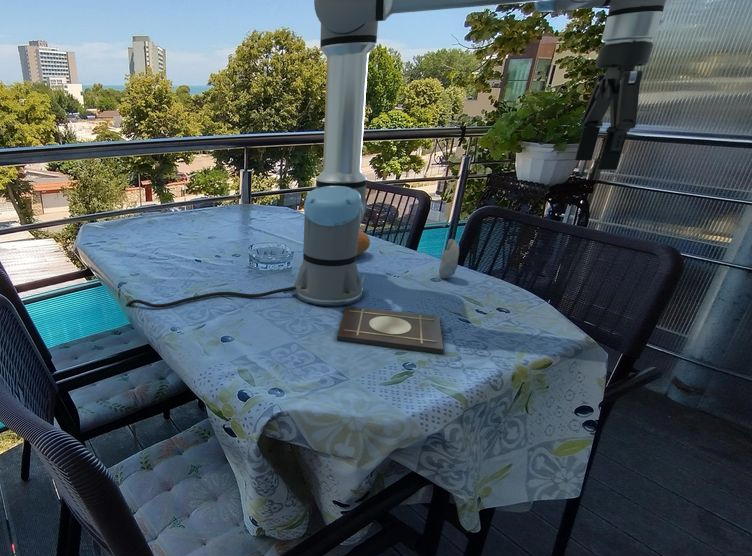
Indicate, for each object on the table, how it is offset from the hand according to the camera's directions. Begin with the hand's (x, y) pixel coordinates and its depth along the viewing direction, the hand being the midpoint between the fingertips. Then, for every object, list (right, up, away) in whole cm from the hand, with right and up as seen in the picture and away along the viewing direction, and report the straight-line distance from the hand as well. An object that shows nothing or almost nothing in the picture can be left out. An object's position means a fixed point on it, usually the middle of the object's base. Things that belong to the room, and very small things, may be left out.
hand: (594, 164), depth 92 cm
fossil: (-19, -22, +21) cm, 36 cm away
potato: (-37, -14, +40) cm, 57 cm away
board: (-41, -32, -2) cm, 53 cm away
